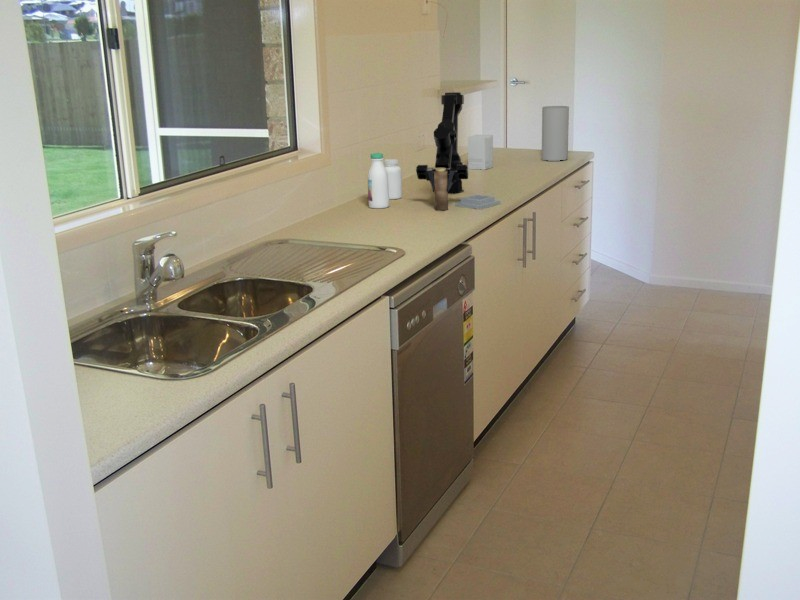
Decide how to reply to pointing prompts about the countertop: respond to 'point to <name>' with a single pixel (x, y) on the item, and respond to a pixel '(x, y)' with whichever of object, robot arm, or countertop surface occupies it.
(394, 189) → the pill bottle
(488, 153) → the supplement box
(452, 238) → the countertop surface
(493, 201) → the seat dish
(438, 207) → the pepper mill
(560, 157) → the cylinder vase
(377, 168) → the milk bottle
